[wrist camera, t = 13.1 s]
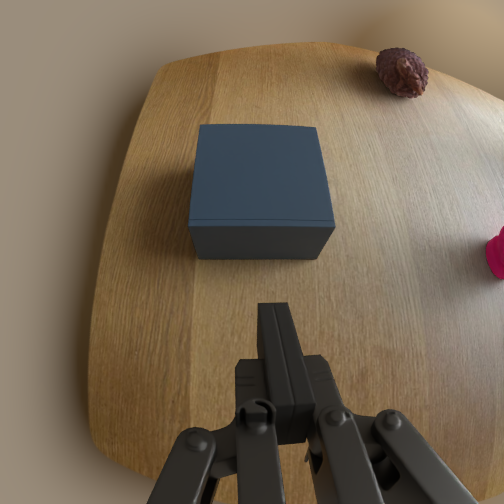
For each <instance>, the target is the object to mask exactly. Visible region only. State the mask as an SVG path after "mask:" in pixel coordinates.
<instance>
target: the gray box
mask: <svg viewBox="0 0 504 504" xmlns="http://www.w3.org/2000/svg"><path fill="white" fill-rule="evenodd" d="M188 220H189V221H188V228H189V231H190V234H191V237H192V241H193V244H194V247H195V250H196V253H197V256H198V259H317V257H318V255H319V254H320V252H321V251H322V249H323V247H324V246H325V244H326V242H327V241H328V239H329V237H330V236H331V234H332V232H333V231H334V229H335V227H336V226H335V220H334V214H333V209H332V203H331V197H330V192H329V187H328V181H327V176H326V171H325V166H324V162H323V157H322V152H321V148H320V143H319V139H318V135H317V130H316V127H304V126H288V125H266V124H206V125H200V129H199V136H198V143H197V150H196V158H195V165H194V173H193V182H192V190H191V200H190V209H189V219H188Z"/></svg>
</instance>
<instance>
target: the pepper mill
mask: <svg viewBox="0 0 504 504" xmlns="http://www.w3.org/2000/svg"><path fill="white" fill-rule="evenodd" d="M486 258H487V262H488V265H489V267H490V269H491V270H492V272H493V273H494V274H495V275H496V277H498V278H500V279H504V226H503V227H502V229H501V231H500V233H499V235H498V236H495V237H494V238H493V239H491V240H490V241H489V242H488V243H487V246H486Z"/></svg>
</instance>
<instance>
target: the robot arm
mask: <svg viewBox="0 0 504 504" xmlns="http://www.w3.org/2000/svg"><path fill="white" fill-rule="evenodd" d="M257 352H258V359H240V360H239V362H238V363H237V365H236V367H235V397H236V411H235V418H234V420H233V421H232V422H231V423H230V424H229V425H228V426H226V427H224V428H221V429H218V430H214V431H209V430H206V429H204V428H199V427H193V428H188V429H186V430H184V431H182V432H181V433H180V434H179V436H178V437H177V439H176V441H175V443H174V445H173V447H172V450H171V452H170V454H169V456H168V458H167V460H166V463H165V465H164V467H163V469H162V471H161V473H160V476H159V478H158V480H157V482H156V484H155V487H154V489H153V491H152V493H151V495H150V497H149V499H148V502H147V504H212V502H213V499H214V496H215V493H216V490H217V487H218V484H219V481H220V478H222V477H226V476H229V475H233V474H236V473H237V483H238V504H286V501H285V494H284V487H283V480H282V473H281V466H280V458H279V451H278V445H285V444H296V443H305V441H306V438H307V439H308V443H309V447H308V450H307V453H306V456H305V462H307V461H308V459H309V464H310V469H311V474H312V479H313V484H314V489H315V494H316V499H317V504H384V503H385V504H479V503H478V502H477V501H476V500H475V498H474V497H473V496H472V495H471V494H470V492H469V491H468V490H467V489H466V488H465V486H464V485H463V484H462V483H461V482H460V480H459V479H458V478H457V477H456V476H455V474H454V473H453V472H452V471H451V470H450V468H449V467H448V466H447V465H446V464H445V463H444V461H443V460H442V459H441V458H440V457H439V455H438V454H437V453H436V452H435V451H434V450H433V448H432V447H431V446H430V445H429V444H428V442H427V441H426V440H425V439H424V438H423V437H422V435H421V434H420V433H419V432H418V431H417V429H416V428H415V427H414V426H413V425H412V424H411V422H410V421H409V420H408V419H407V418H406V417H405V415H403V414H402V413H401V412H399V411H397V410H392V409H387V410H383V411H381V412H380V413H379V414H377V416H376V417H370V416H360V415H356V414H354V413H352V412H351V410H349V409H348V408H346V407H345V406H344V404H343V402H342V399H341V397H340V394H339V391H338V388H337V386H336V383H335V380H334V379H333V375H332V372H331V369H330V367H329V364H328V362H327V361H326V360H325V359H324V358H323V357H322V356H321V355H309V356H303V353H302V350H301V346H300V343H299V340H298V336H297V333H296V329H295V326H294V323H293V319H292V316H291V312H290V309H289V306H288V302H286V303H258V319H257Z"/></svg>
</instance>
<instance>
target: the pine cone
mask: <svg viewBox="0 0 504 504" xmlns="http://www.w3.org/2000/svg"><path fill="white" fill-rule="evenodd" d="M379 54H380V55H378V56H377V59H376V66H377V67H376V71H377V73H378V74H379V78H380V79H381V81H383V82H384V83H385V86H386V87H388V88H389V90H390V91H391V93H396V94H397V95H398V96H402V97H406V96H407V97H408V98H410V99H411V98H413V97H414V98H417V97H418V95H422V94H423V92H424V91H425V86H426V85H427V83H428V82H427V79H428V76H427V75H428V73H429V72H428V69H427V68H425V64H424V63H423V62H422V61H421V58H420V57H418V56H416V55H415V53H414V52H410V51H409V50H406V49H405V48H401V49H400V48H391V49H387V50H386V49H385V50H383V51H380V53H379Z"/></svg>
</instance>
